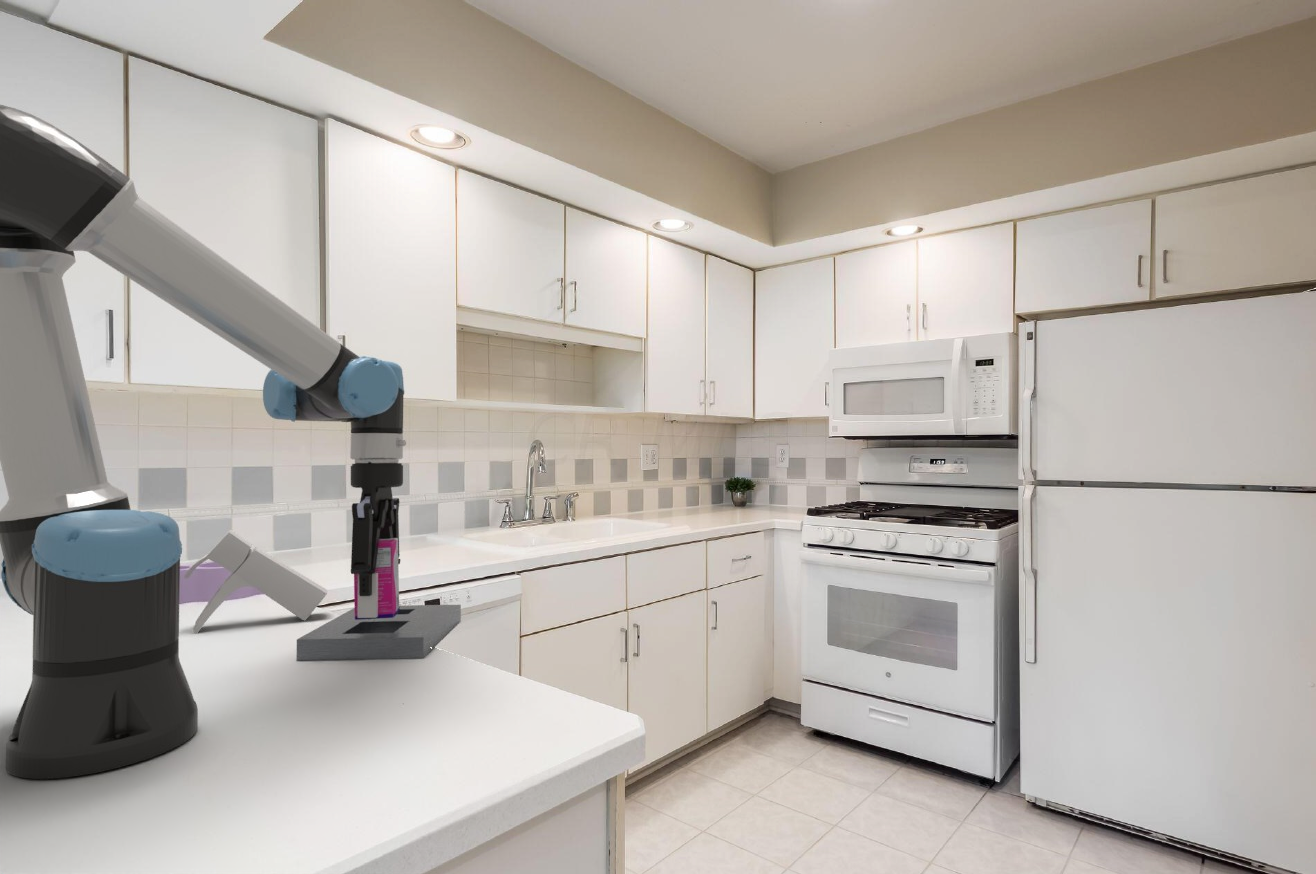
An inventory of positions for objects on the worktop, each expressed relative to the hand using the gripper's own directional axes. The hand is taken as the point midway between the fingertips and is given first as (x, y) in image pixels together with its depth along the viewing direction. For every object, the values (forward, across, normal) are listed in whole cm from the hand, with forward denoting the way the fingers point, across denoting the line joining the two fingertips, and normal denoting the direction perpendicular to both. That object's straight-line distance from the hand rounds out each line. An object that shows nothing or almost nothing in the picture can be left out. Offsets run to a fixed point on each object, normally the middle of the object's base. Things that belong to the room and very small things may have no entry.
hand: (376, 611), depth 106 cm
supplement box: (+1, 0, 0) cm, 1 cm away
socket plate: (+5, +5, 0) cm, 7 cm away
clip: (+6, +42, +50) cm, 65 cm away
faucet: (+6, +17, +27) cm, 32 cm away
